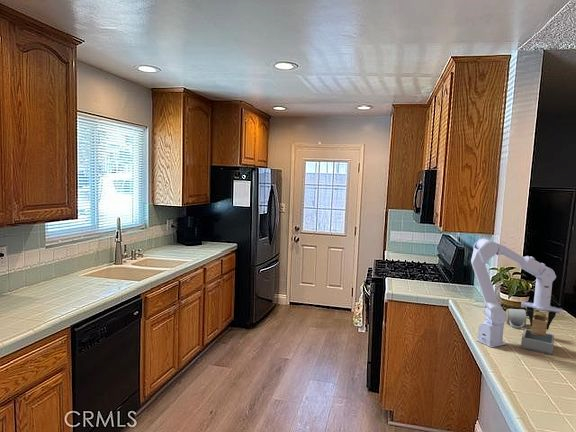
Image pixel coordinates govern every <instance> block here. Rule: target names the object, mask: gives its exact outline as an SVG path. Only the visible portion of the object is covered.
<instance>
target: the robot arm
mask: <svg viewBox="0 0 576 432" xmlns="http://www.w3.org/2000/svg"><path fill="white" fill-rule="evenodd" d="M495 255H497V256H505V257H506V258H508V259H510V260H512V261H513V262H516V263H517V264H518V266H519V269H522V270H524V272H527V273H529V274H531V275H532V276H534V277H535V278H536V279H535V288H534V296H533V302H527V301H526V302H525V301H521V303H520V308H523V309H524V308H525V311H526V314H527V315H528V319H529V322H530V323H529V324H530V326H529V327H532V320H533V313H534V312H535V310H537V311H541V312H547V313H548V314H547V316H548V321H547V328H546V330H547V331H549V328H550V325H551V323H552V321H553V320H554V319H555V317H556V316H557V314H559V315H563V310H564V309H563V308H561V307H560V308H559V307H556V306H552V305H551V300H552V299H551V298H552V290H553V289H552V288H553V282H554V281H555V280H556V279H557V275H556V273H555V271H554V270H553V268H551V267H548V266H546V264H545V263H543V262H539V261H537V260H536V257H533V256H529V255H526V256H523V255H520V254H519V253H517V252H515V251H514V250H512V249H510V248H509V247H507V246H505V245H503V244H501V243H498V242H496V241H493V240H490V239H488V238H487V237H483V238H479V239H478V240H477V241H476V242H474V244H473V251H472V256H471V258H470V263H471V264H470V265H471V266H472V270H473V272H474V275H475V278H476V280H477V284H478V287H479V290H480V292H481V295H482V297H483V307H484V309H483V313H484V314H485V319H484V321H483V322H482V323H480V324H479V326H478V329H477V330H478V332H477V338H476V339H475V341H477V342H479V343H481V344H483V345H485V346H487V347H490V348H495V347H500V346H507V345H508V343H507V342H505V341H503V339H504V327H505V322H506V320H507V315H506V311H504V309H503V308H502V305H501V303H500V301H499V300H498V297H497V295H496V292H495V289H494V286H493V283H492V281H491V277H490V275H489V271H488V267H487V266H486V264H487V263H488V261H489V260H490V259H491V258H492V257H493V258H494V256H495Z"/></svg>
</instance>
